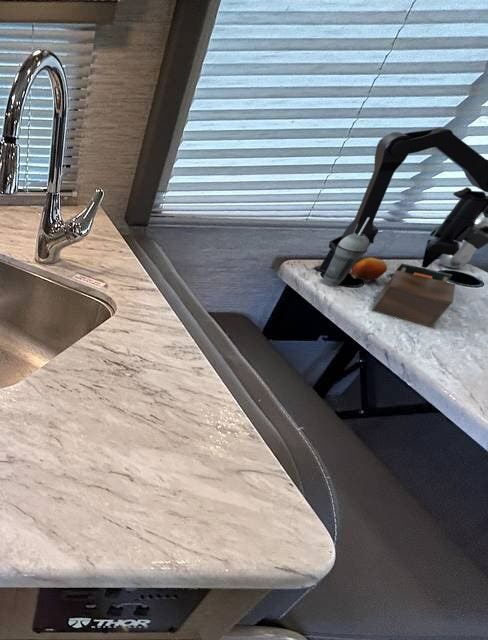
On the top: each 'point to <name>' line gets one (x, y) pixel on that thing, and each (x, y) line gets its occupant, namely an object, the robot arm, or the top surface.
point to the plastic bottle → (463, 249)
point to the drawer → (424, 272)
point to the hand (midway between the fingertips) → (423, 267)
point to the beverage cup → (346, 257)
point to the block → (423, 275)
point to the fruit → (368, 269)
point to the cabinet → (415, 298)
